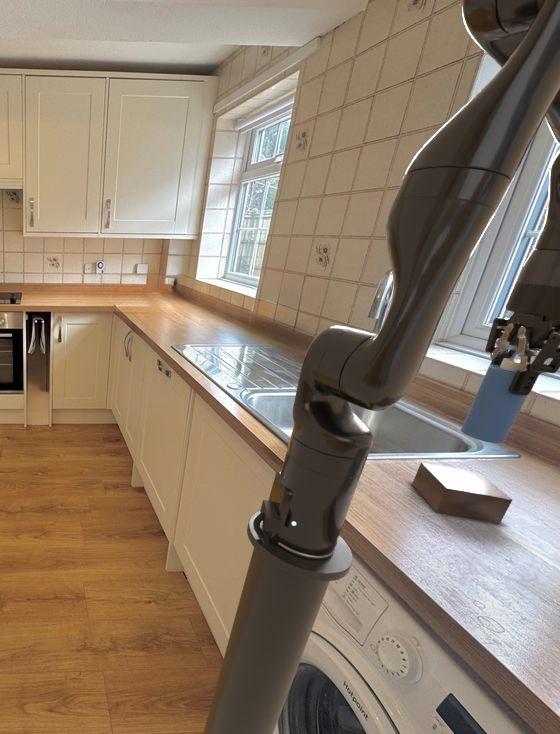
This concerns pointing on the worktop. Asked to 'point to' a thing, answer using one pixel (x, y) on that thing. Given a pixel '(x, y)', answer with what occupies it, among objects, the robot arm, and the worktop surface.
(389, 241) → the robot arm
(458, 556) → the worktop surface
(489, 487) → the walnut block
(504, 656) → the worktop surface
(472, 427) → the blue bottle
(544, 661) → the worktop surface
